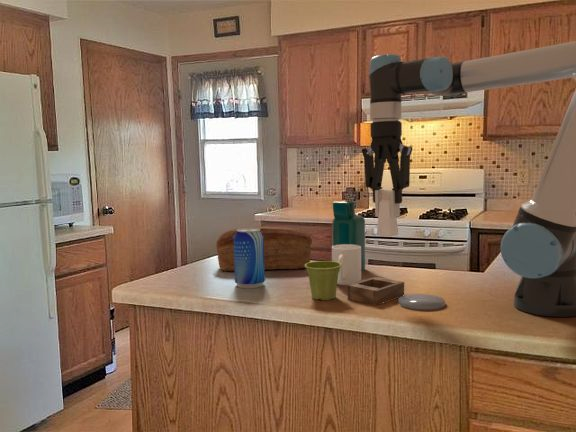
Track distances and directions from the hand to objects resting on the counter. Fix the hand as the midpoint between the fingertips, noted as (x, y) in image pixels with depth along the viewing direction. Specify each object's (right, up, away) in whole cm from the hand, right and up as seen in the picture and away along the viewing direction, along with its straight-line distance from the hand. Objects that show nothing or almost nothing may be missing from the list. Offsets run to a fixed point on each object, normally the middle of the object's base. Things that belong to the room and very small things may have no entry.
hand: (387, 216), depth 136 cm
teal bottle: (-6, -17, +36) cm, 40 cm away
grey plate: (+8, -21, -3) cm, 23 cm away
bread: (-32, -17, +42) cm, 56 cm away
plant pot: (-16, -21, +5) cm, 27 cm away
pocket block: (-2, -21, +4) cm, 21 cm away
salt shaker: (0, -5, +1) cm, 5 cm away
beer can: (-35, -20, +19) cm, 45 cm away
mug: (-9, -19, +19) cm, 28 cm away
